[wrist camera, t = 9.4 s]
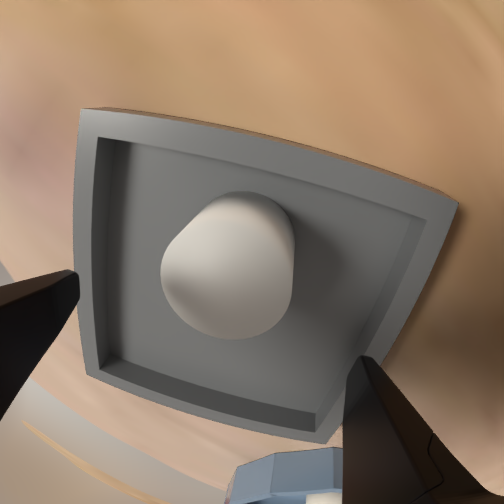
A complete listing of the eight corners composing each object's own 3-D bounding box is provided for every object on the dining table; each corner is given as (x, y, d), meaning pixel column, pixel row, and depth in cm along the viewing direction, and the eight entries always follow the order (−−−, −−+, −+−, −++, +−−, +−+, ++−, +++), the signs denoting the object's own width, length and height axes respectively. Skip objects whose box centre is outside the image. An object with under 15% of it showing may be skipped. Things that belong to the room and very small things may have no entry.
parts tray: (439, 190, 14) (458, 202, 12) (325, 420, 21) (325, 444, 19) (105, 107, 14) (81, 108, 12) (100, 355, 21) (86, 374, 19)
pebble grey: (307, 206, 14) (309, 242, 10) (279, 295, 16) (271, 352, 12) (204, 179, 15) (167, 205, 11) (188, 270, 17) (156, 318, 13)
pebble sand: (366, 473, 23) (369, 513, 19) (345, 493, 25) (345, 529, 21) (317, 469, 23) (316, 511, 19) (300, 489, 25) (296, 526, 21)
